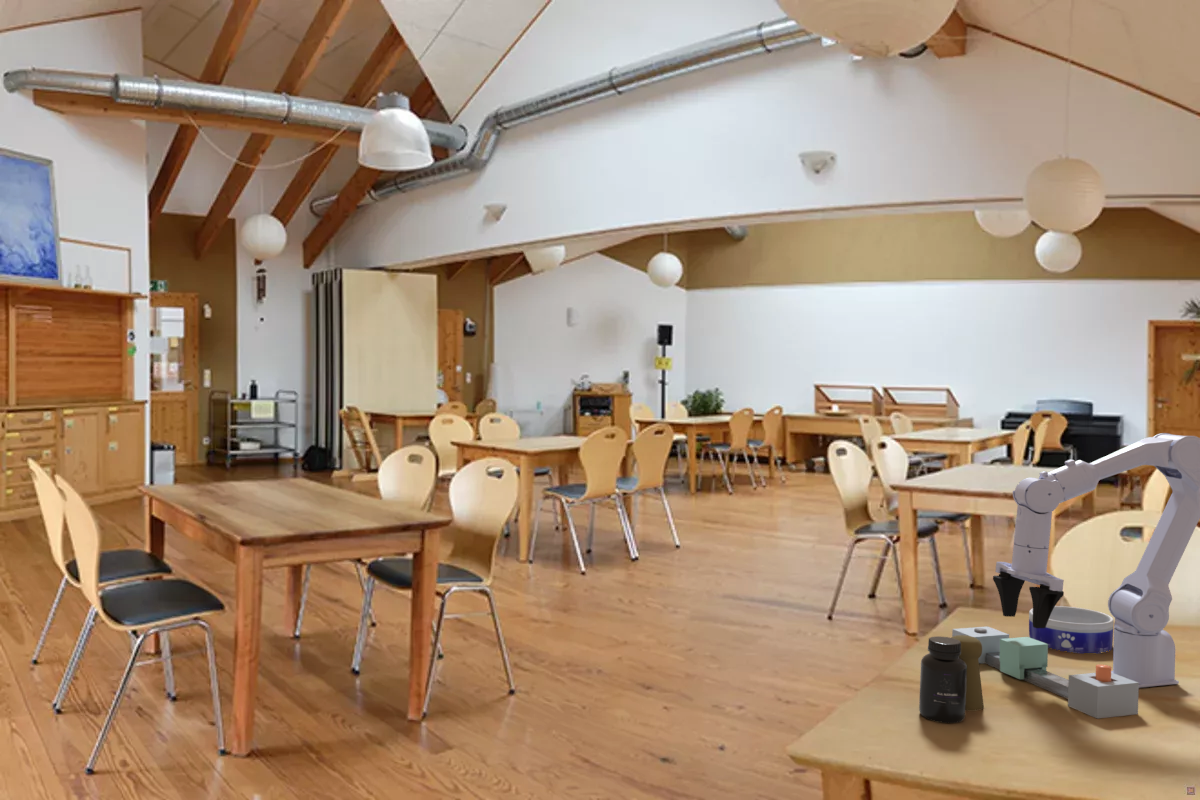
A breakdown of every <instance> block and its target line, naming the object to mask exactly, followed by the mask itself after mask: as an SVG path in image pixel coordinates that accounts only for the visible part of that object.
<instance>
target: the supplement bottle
mask: <svg viewBox="0 0 1200 800" xmlns="http://www.w3.org/2000/svg"><path fill="white" fill-rule="evenodd" d="M927 644H928V645H927V651H928V652H929V653H927V654H924V655H923V657H922V658H921V661H920V672H919V673H920V675H919V676H920V677H919V704H918V705H919V707H918V709H919V710H918V711H919V713H920V715H921V716H922V717H923V718H925V719H927V720H929V721H933V722H938V723H941V724H942V723H945V724H956V723H961V722H963V721H964V720H965V718H966V711H967V710H966V685H967V665H966V663H965V661H964V660H963V659H962V658H960V657H959V655H961V642H960V641H959V640H957V639H954V638H951V637H948V636H931V637H929V638H928V643H927Z"/></svg>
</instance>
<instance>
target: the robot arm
mask: <svg viewBox="0 0 1200 800" xmlns="http://www.w3.org/2000/svg"><path fill="white" fill-rule="evenodd" d="M1064 464H1065V465H1063V466H1060V467H1057V468H1056V469H1053V470H1050V471H1047V470H1046V471H1045V470H1043V471H1040V472H1039V477H1026V478H1023V479H1022V480H1020V481H1019V482H1018V484H1017V485H1016V486H1015V490H1012V498H1013V500H1014V502H1015V503H1016V506H1017V509H1016V518H1015V525H1014V536H1013V537H1014V538H1013V548H1012V556H1011V558H1012V559H1011V563H1009V562H1006V561H996V563H995V573H998V575H993V576H992V581H993V582H994V584H995V587H996V590H997V592H998V595H999V599H1000V605H1001V611H1002V616H1003V617H1011V618H1012V617H1015V616H1016V613H1017V612H1018V611H1017V610H1018V605H1019V597H1020V595H1021V590H1022V588H1023V586H1024V584H1025V582H1028V583H1031V584H1034V585H1038V586H1029V592H1030V597H1031V600H1032V608H1033V627H1034V628H1046V625H1047V622H1048V620H1049V617H1050V615H1051V613H1052V611H1053V609H1054V607H1055V606H1057V604H1058V602H1059V601H1060V600H1061V599H1062V598H1063V597H1064V594H1065V592H1064V581H1065V580H1064V579H1062V578H1060V577H1057V576H1055V575H1053V574H1050V573H1049V572H1047V571H1048V558H1049V550H1050V549H1049V548H1050V540H1051V538H1050V537H1051V531H1052V530H1051V529H1052V518H1053V515H1052V514H1053V512H1054V511H1055V510H1056V509H1057V508H1058V506H1059V505H1060V504H1062V503H1064V502H1067V501H1069V500H1071V499H1074V498H1076V497H1079V496H1082V495H1084V494H1085V495H1086V494H1087V493H1090V492H1092V491H1094V490H1096V488H1097V486H1098V484H1099V481H1100V480H1103V479H1106V478H1109V477H1112V476H1115V475H1117V474H1120V473H1123V472H1126V471H1129V470H1130V471H1131V470H1132V469H1136V468H1138V467H1141V466H1153V467H1155V468H1156V469H1157V470H1158V472H1159V473H1161V474H1162V475H1163V476H1164V478H1165V479H1166V480H1167V482H1168V485H1169V486H1170V489H1171V491H1172V493H1171V495H1170V497H1169V498H1168V501H1167V503H1166V505H1165V507H1164V510H1163V512H1162V514H1161V516H1160V517H1159V520H1158V522H1157V524H1156V527H1155V529H1154V531H1153V533H1152V535H1151V537H1150V538H1149V541H1148V543H1147V546H1146V547H1145V550H1144V552H1143V554H1142V556H1141V557H1140V561H1139V563H1138V565H1137V567H1136V569H1135V570H1134V571H1133V572H1132V573H1130V574H1129V575H1127V576H1125V577H1124V578H1123V581H1122V582H1121V583H1120V586H1118V587H1117V588H1116V589H1115V590H1114V591H1113V592H1112V593H1110V594H1109V597H1108V599H1107V608H1108V610H1109V613H1110V615H1112V618H1114V624H1113V649H1112V650H1113V651H1112V652H1113V653H1112V654H1113V655H1112V656H1113V658H1112V661H1113V662H1112V663H1113V664H1112V670H1111V673H1114V674H1117V675H1119V676H1122V677H1125V678H1128V679H1130V680H1133V681H1136V682H1138V683H1139V689H1141V688H1149V687H1150V688H1151V687H1157V686H1159V687H1160V686H1168V685H1178V684H1179V680H1177V679H1175V678H1176V677H1175V676H1176V675H1175V674H1176V643H1175V641H1174V639H1173V637H1172V635H1171V634H1170V633H1169V632H1168V631H1167V630H1164V629H1165V627H1166V626H1167V624H1168V623H1169V619H1170V611H1169V610H1170V605H1171V603H1172V601H1173V596H1172V593H1171V590H1170V587H1169V586H1170V585H1169V584H1170V583H1171V581H1172V577H1173V576H1174V574H1175V572H1176V569H1177V567H1178V566H1179V564H1180V561H1181V559H1182V557H1183V555H1184V552H1185V551H1186V548H1187V547H1188V545H1189V541H1190V540H1191V537H1192V536H1193V533H1194V532H1195V529H1196V527H1197V525H1198V523H1199V521H1200V437H1198V436H1196V435H1178V434H1172V433H1169V432H1162V433H1157V434H1156V435H1154V436H1148V437H1145V438H1142V439H1140V440H1138V441H1136V442H1134V443H1132V444H1129V445H1127V446H1125V447H1122V448H1120V449H1118V450H1116V451H1113V452H1112V453H1109V454H1108V455H1106V456H1103V457H1100V458H1098V459H1096V460H1094V461H1092V462H1091V461H1090V462H1086V461H1084V460H1081V459H1078V460H1076V461H1075V460H1074V459H1067V460H1065V461H1064Z"/></svg>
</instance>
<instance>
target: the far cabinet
mask: <svg viewBox="0 0 1200 800" xmlns="http://www.w3.org/2000/svg"><path fill="white" fill-rule="evenodd" d="M951 630H952V631H951V632H952V634H951V637H953V636H956V635H966V636H971V637H975V638H977V639H978V640H979V641H980V642H981V644H982V654H981V656H980V657H979V659H978V661H979V664H986V653H994V652H1000V639H1006V638H1010V634H1009V633H1006V632H1003V631H1001V630H998V629H996V628H993V627H991V626H987V625H986V626H977V627H960V628H952V629H951Z"/></svg>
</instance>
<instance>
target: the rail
mask: <svg viewBox="0 0 1200 800" xmlns="http://www.w3.org/2000/svg"><path fill="white" fill-rule="evenodd" d="M999 659H1000V652H994V653H986V663H985V664H986V665H987V664H988V666H989V667H992V668H994V667H995V669H996V670H999V671H1000V661H999ZM1021 680H1023V681H1024V682H1027V683H1029V684H1031V685H1034V686H1036V687H1038V688H1041V689H1044V690H1046V691H1047V692H1048V691H1049V692H1050V693H1053V694H1055V695H1058V696H1060V697H1062V698H1065V699H1066V700H1068V684H1069V678H1068V679H1067V678H1065V677H1063V676H1060V675H1057V674H1055V673H1052V672H1050V671H1047V670H1046V671H1045V670H1043V669H1040V668H1027V669H1024V679H1021Z"/></svg>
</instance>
